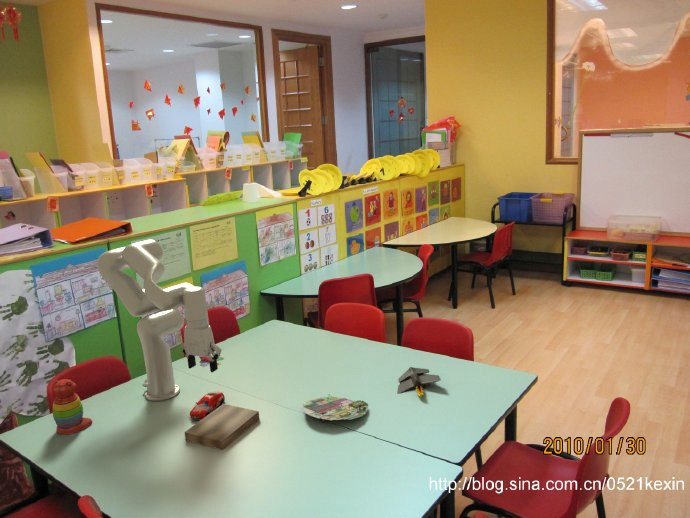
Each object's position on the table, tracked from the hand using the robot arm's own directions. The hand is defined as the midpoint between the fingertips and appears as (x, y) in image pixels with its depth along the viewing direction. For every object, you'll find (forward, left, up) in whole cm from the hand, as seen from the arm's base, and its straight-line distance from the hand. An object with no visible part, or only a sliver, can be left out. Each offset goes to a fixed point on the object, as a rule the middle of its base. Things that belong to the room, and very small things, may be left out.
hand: (203, 368), depth 202 cm
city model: (+44, +15, -16) cm, 49 cm away
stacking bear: (-37, -27, -16) cm, 49 cm away
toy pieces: (-27, +34, -16) cm, 47 cm away
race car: (0, 0, -16) cm, 16 cm away
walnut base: (+14, -9, -16) cm, 23 cm away
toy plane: (+62, +44, -16) cm, 78 cm away
